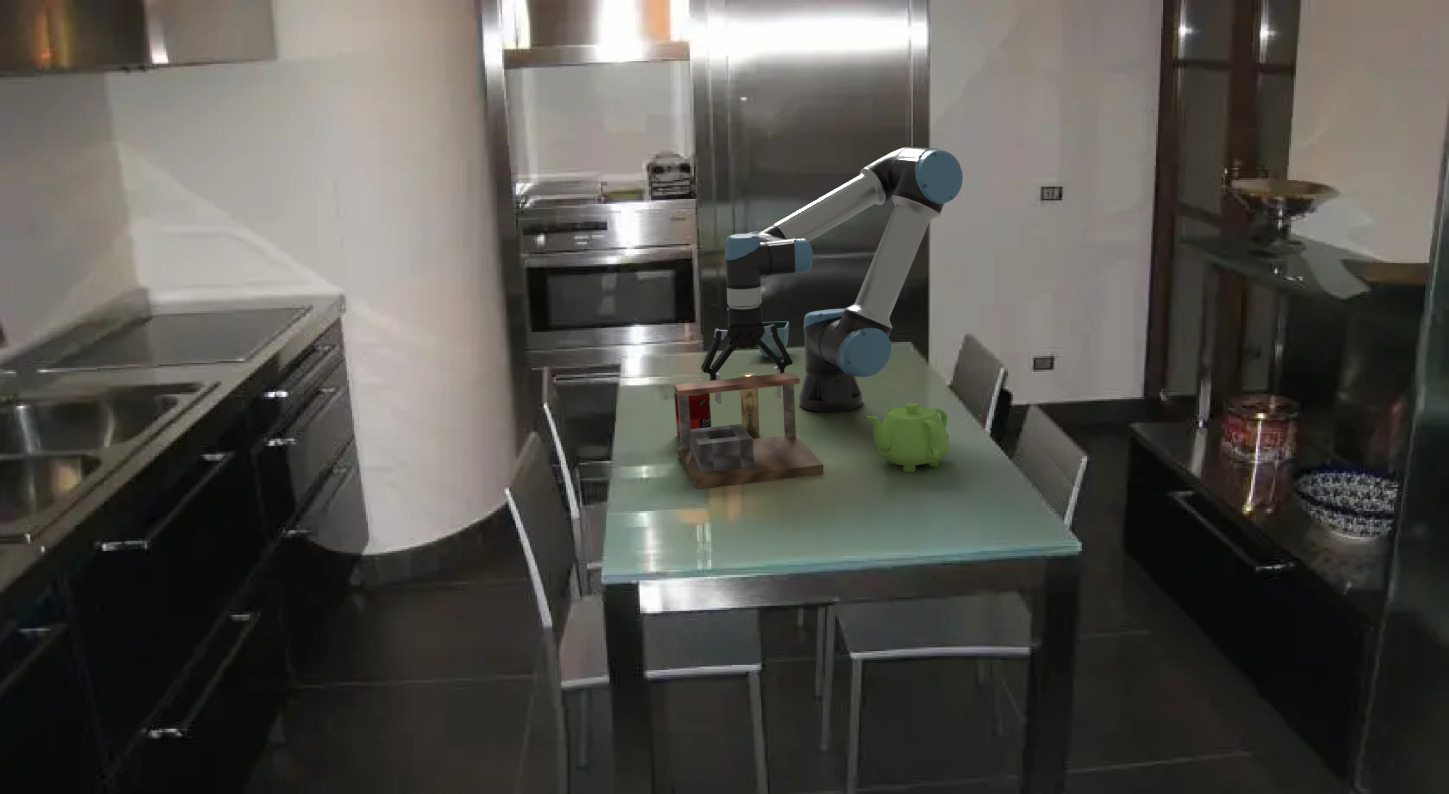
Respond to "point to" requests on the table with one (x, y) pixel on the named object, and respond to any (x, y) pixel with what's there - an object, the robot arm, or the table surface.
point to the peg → (749, 408)
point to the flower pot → (782, 333)
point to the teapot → (911, 436)
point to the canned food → (696, 411)
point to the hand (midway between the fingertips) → (748, 399)
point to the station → (742, 440)
